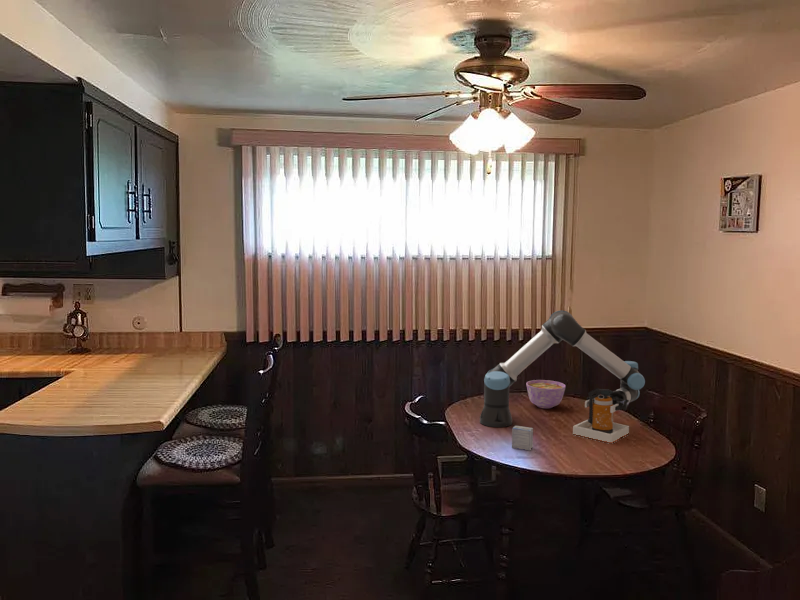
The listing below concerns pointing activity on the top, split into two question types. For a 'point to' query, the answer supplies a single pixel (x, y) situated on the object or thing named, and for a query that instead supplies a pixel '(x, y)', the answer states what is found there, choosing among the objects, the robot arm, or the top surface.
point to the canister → (601, 410)
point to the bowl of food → (545, 392)
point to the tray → (586, 430)
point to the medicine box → (522, 437)
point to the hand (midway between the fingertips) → (598, 407)
